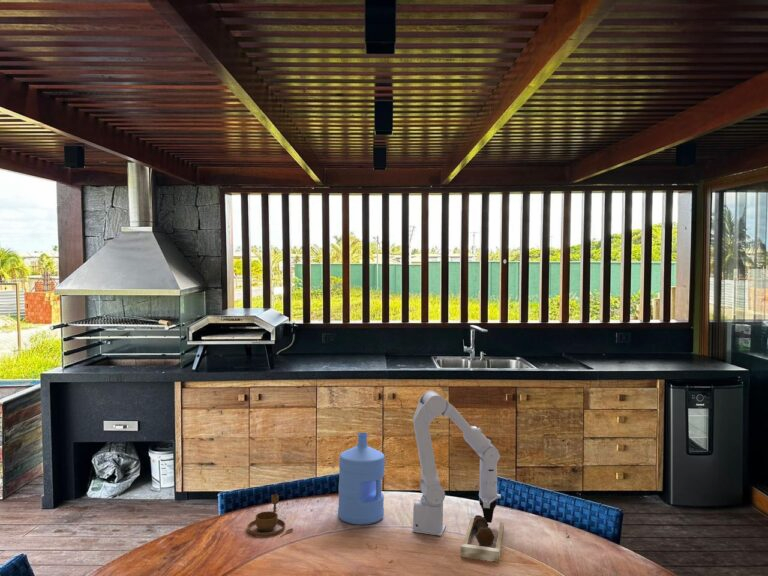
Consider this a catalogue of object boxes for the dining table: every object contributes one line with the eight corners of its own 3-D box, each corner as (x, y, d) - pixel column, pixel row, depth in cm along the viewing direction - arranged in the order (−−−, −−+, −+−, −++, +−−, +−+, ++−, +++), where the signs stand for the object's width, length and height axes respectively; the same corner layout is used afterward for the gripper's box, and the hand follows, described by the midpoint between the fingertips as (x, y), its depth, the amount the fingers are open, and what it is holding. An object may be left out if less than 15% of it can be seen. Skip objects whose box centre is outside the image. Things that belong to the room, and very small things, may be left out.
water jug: (329, 520, 181) (331, 436, 181) (350, 504, 195) (352, 426, 196) (372, 529, 175) (374, 442, 175) (390, 512, 189) (392, 431, 190)
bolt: (480, 531, 179) (487, 550, 164) (467, 522, 179) (473, 541, 164) (489, 515, 179) (497, 533, 164) (476, 507, 179) (483, 524, 164)
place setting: (231, 531, 172) (232, 512, 172) (272, 510, 190) (273, 493, 190) (275, 544, 164) (275, 524, 164) (313, 520, 182) (314, 503, 182)
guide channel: (460, 556, 157) (460, 546, 157) (470, 524, 180) (470, 515, 180) (498, 562, 154) (498, 551, 154) (503, 528, 177) (503, 519, 177)
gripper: (499, 489, 170) (499, 532, 170) (502, 474, 184) (501, 514, 184) (476, 487, 172) (476, 530, 172) (481, 472, 186) (480, 512, 186)
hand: (488, 522), depth 178 cm, fingers closed, pressing on bolt
